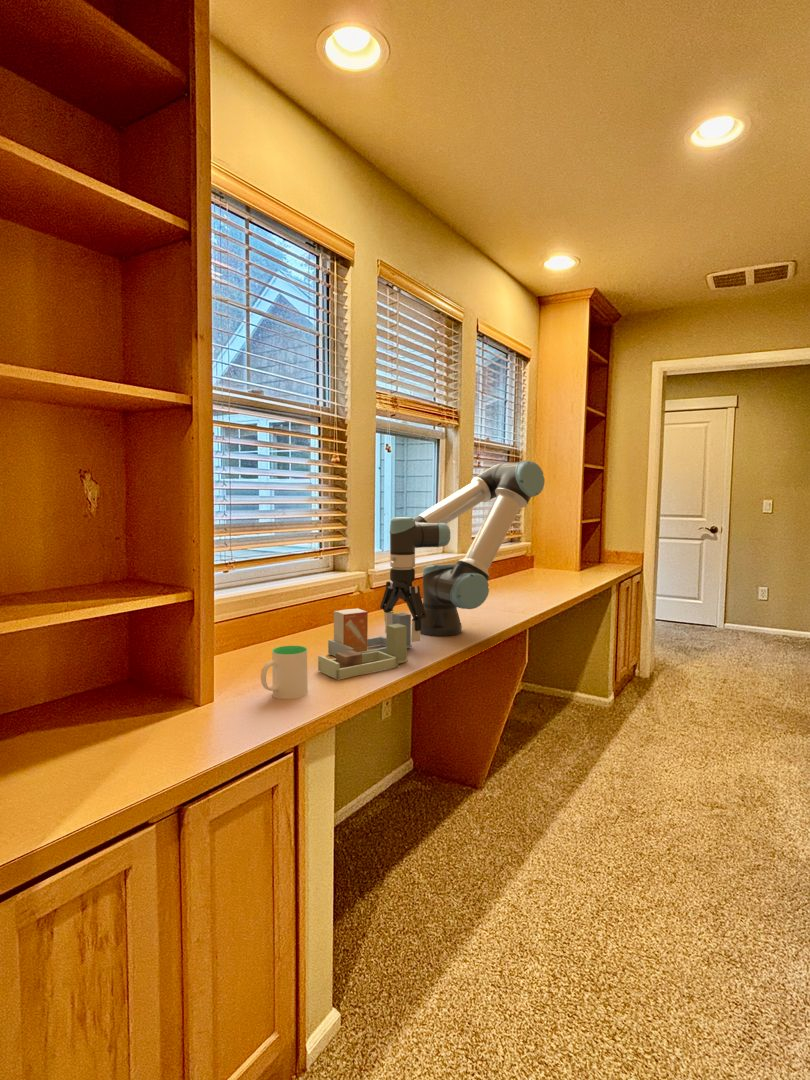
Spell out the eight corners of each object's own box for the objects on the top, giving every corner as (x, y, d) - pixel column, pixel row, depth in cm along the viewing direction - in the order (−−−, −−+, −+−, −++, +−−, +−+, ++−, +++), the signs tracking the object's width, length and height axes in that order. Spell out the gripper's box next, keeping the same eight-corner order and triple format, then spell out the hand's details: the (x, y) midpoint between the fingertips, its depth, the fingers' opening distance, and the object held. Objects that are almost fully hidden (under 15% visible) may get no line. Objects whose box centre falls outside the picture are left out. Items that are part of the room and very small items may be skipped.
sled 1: (394, 641, 189) (394, 610, 188) (419, 649, 179) (419, 616, 178) (328, 653, 175) (328, 619, 174) (351, 663, 164) (351, 627, 164)
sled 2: (392, 656, 172) (392, 621, 171) (412, 663, 164) (413, 627, 163) (318, 670, 157) (318, 633, 157) (336, 679, 150) (336, 640, 149)
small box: (343, 659, 169) (343, 614, 168) (333, 654, 174) (333, 610, 174) (368, 655, 174) (368, 611, 173) (357, 650, 179) (357, 607, 178)
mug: (276, 706, 131) (275, 660, 131) (252, 699, 136) (251, 654, 135) (314, 692, 141) (314, 648, 140) (290, 685, 146) (290, 643, 145)
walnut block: (352, 668, 161) (351, 650, 161) (362, 672, 157) (362, 654, 157) (335, 671, 158) (335, 653, 158) (345, 676, 154) (345, 657, 154)
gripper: (369, 564, 189) (369, 631, 190) (418, 573, 169) (417, 647, 170) (388, 563, 193) (388, 628, 195) (438, 571, 173) (437, 643, 175)
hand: (402, 637), depth 183 cm, fingers open, 13 cm apart
